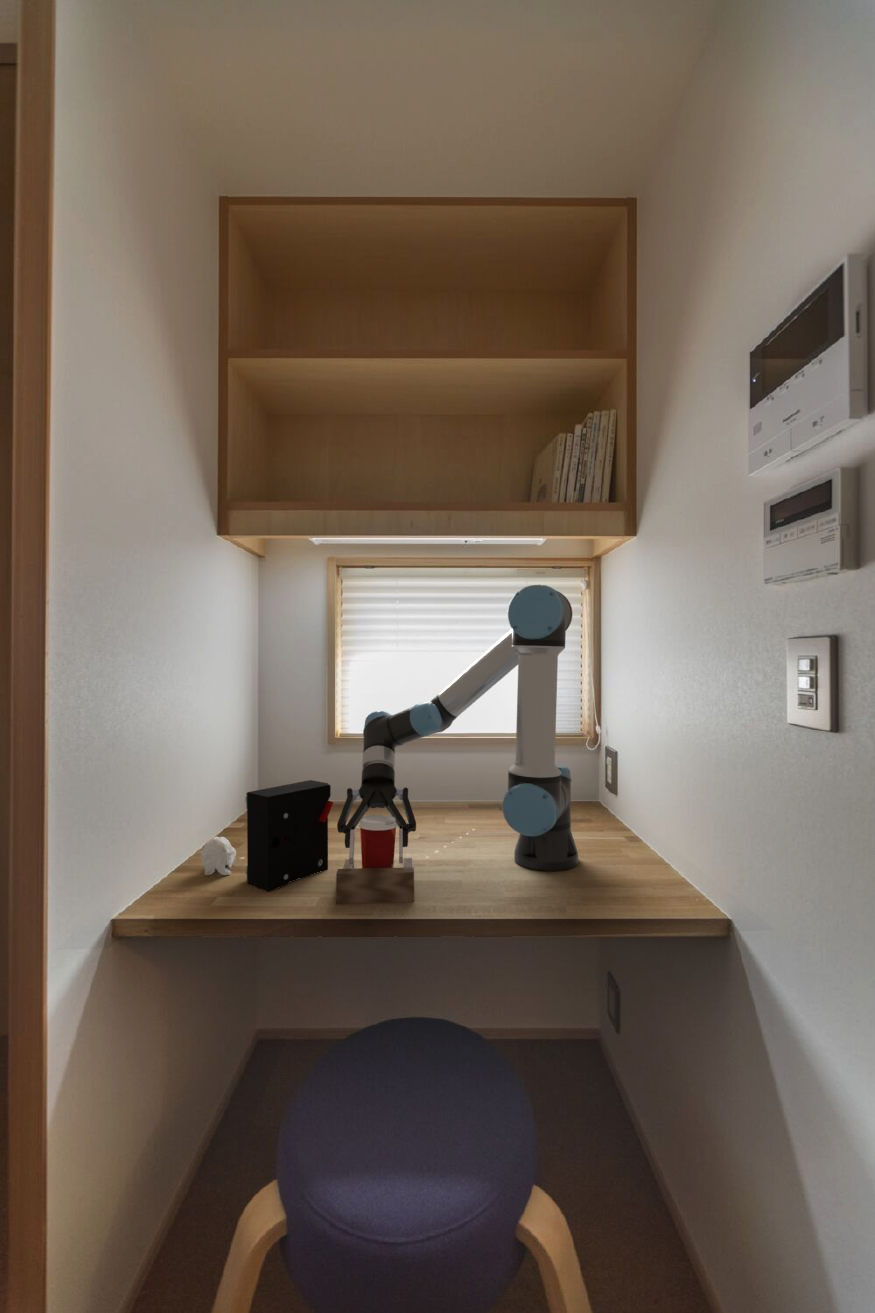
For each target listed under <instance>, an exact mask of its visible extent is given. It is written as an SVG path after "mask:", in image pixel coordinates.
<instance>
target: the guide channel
mask: <svg viewBox="0 0 875 1313" xmlns="http://www.w3.org/2000/svg"><path fill="white" fill-rule="evenodd" d="M402 864H403V867H393V868H362V867H361V868H360V867H359V868H355V861H354V862H353V864H350V862H349V858H347V859H345V860H344V863H343V868H337V871H336V874H335V876H336V877H335V878H336V879H335V880H336V884H335V885H336V889H335V890H336V893H335V894H336V899H335V900H336V902H335V903H336V904H339V905H340V904H341V905H342V904H344V905H345V904H349V905H350V904H351V905H352V904H380V903H381V904H385V903H387V904H388V903H390V904H391V903H393V904H394V903H414V902H415V869H414V867H413V857H403V863H402ZM336 904H335V905H336Z"/></svg>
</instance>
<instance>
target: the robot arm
mask: <svg viewBox="0 0 875 1313" xmlns="http://www.w3.org/2000/svg"><path fill="white" fill-rule="evenodd" d="M507 619H508V623H509V626H510V628H511V629H510V630H509V631H508V632H506V633H505V634H504V635H503V636H502V637H501V638H499V640H497V641H496V642H495V643H494V644H493V645H492V646H490V648H489V649H488V650H485V652H484V653H483V654H482V655H481V656H480V657H478V658H477V659H476V660H475V661H474V662H473V663H471V664H470V665H469V667H467V668H466V669H465V670H464V671H463V672H461V673H460V674H459V675H458V676H457V677H456V678H455V679H453V680H452V682H450V683H448V684H447V686H446V687H445V688H444V689H442V690H441V691H440V692H439V693H438V694H436V696H435V697H433V699H431V700H430V701H425V702H422V703H419V704H414V705H413V706H412V707H409V708H407V709H404V710H402V711H400V712H397V713H395V714H391V713H390V712H389V711H384V710H380V711H373V712H371V713H369V714H368V715H367V717H365V720H364V725H363V730H362V731H363V732H362V733H363V734H362V735H363V751H362V761H361V762H362V763H361V768H362V769H361V770H362V772H361V785H360V788H359V789H355V790H353V789H352V788H350V787H348V788H347V789H346V798H345V799H346V800H345V801H344V805H343V808H342V809H341V813H340V815H339V818H338V821H337V824H336V825H337V826H336V827H337V828H336V829H337V832H338V833H340V834H342V833H343V834H344V846H345V848H346V849H349V854H348V859H349V862H350V864H353V862H354V863H355V858H354V857H355V844H356V843H355V841H356V840H355V839H356V834H355V829H356V828H357V826H359V824H360V822H361V819H362V818H363V817H365V816H364V815H365V814H366V813H367V812H368V811H369V810H370V809H376V808H379V809H385V808H386V811H388V812H389V814H390V816H393V817H395V819H396V823H397V824H398V826H397V827H398V828H399V829H398V858H399V860H398V863H399V864H403V858H404V854H403V853H404V851H403V850H404V849H403V848H407V847H408V846H409V834H410V833H411V832H413V833H414V832H416V830H417V820H416V818H415V815H414V812H413V809H412V805H411V802H410V800H409V788H408V787H403V788H402V789H397V787H396V786H395V785H396V784H395V781H396V779H395V777H396V776H395V775H396V774H395V769H396V768H395V764H396V762H395V761H396V760H395V758H396V752H395V751H396V748H397V747H400V746H403V745H405V744H408V743H410V742H411V743H412V742H413V741H417V740H419V739H422V738H424V737H428V736H430V735H433V734H437V733H443V732H444V731H445V730H447V729H449V728H450V727H451V725H452V724H453V722H454V721H455V720H456V719H457V718H458V717H459V716H460V715H461V714H462V713H463V712H465V711H466V710H467V709H468V708H469V707H471V706H472V705H473V704H474V703H475V702H476V701H478V699H480V698H481V697H482V696H483V695H484V694H486V693H487V692H488V691H489V690H490V689H491V688H493V686H495V685H496V684H497V683H499V682H500V681H501V680H502V679H503V678H504V677H505V676H506V675H508V674H509V673H510V672H511V671H513V670H514V669H515V668H516V667H517V691H516V692H517V694H516V697H517V698H516V699H517V700H516V703H517V704H516V732H515V734H516V735H515V736H516V737H515V761H514V763H513V764H512V765H511V766H510V767H509V768H508V770H507V771H508V773H507V774H508V775H507V776H508V777H507V791H506V793H505V795H504V797H503V800H502V806H501V807H502V808H501V810H502V814H503V818H504V820H505V822H506V823H507V825H509V827H510V828H511V829H512V830H514V831H515V832H517V833H518V834H519V835H518V838H517V840H516V841H517V842H516V844H515V848H514V856H513V857H514V862H515V863H516V864H518V865H520V866H522V867H524V868H527V869H532V870H537V871H548V872H549V871H551V872H552V871H553V872H554V871H563V870H569V869H573V868H575V867H576V866H578V864H579V851H578V849H577V846H576V843H575V839H574V836H573V833H572V829H571V827H572V825H571V822H572V821H571V819H572V818H571V815H572V813H571V812H572V809H571V805H572V804H571V800H572V798H571V796H572V794H571V791H572V790H571V789H572V788H571V785H572V783H571V782H572V777H571V769H570V768H568V767H567V766H563V765H562V766H561V765H556V764H555V763H556V735H557V733H556V732H557V731H556V730H557V729H556V727H557V702H558V700H557V697H558V696H557V695H558V693H557V692H558V666H559V665H558V664H559V663H558V662H559V661H558V658H559V655H560V654H561V653H562V652H563V651H564V650H565V649H566V631H567V630H568V628H570V626H571V623H572V621H573V607H572V604H571V602H570V601H569V599H568V598H567V596H565V595H564V594H563V593H562V592H560V591H558V590H556V589H555V588H553V587H551V586H548V585H547V584H546V585H545V584H532V585H527V586H525V587H522V588H521V589H520V590H518V591H517V592H516V593H515V594H514V595H513V597H512V598H511V599H510V601H509V604H508V607H507ZM358 797H360V799H361V802H360V804H359V806H358V807H357V808H356V810H355V811H354V814H352V816H351V818H350V819H349V821H348V818H349V817H350V813H351V810H352V808H353V805H354V802H355V801H356V800H357V798H358ZM395 797H398V799H399V801H401V802H402V807H403V809H404V813H405V817H406V819H407V821H406V820H405V818H404V817H403V815H402V814H401V812H400V810H399V809H398V807H397V806H396V804H395V803H394V799H395Z"/></svg>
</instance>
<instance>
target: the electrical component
mask: <svg viewBox="0 0 875 1313" xmlns="http://www.w3.org/2000/svg"><path fill="white" fill-rule="evenodd" d="M331 788H332V787H331V784H329V783H328V782H324V781H317V780H314V779H312V780H311V779H309V780H303V781H299V782H293V783H289V784H283V785H278V786H272V787H266V788H262V789H256V790H251V791H247V792H246V795H245V802H246V811H247V816H246V819H247V822H246V823H247V824H246V826H247V827H246V829H247V832H246V833H247V834H246V835H247V836H246V839H247V840H246V841H247V842H246V843H247V845H246V848H247V852H246V854H247V856H246V858H247V859H246V860H247V863H246V864H247V866H246V869H245V875H246V883H247V885H248V886H251V885H252V886H251V887H253V886H255V887H254V888H256V887H257V888H256V889H259V890H261V889H262V891H264V890H265V892H267V893H269V891H270V892H272V891H275V890H277V889H276V888H278V887H280V888H282V887H281V886H283V887H285V886H284V885H286V886H287V885H289V883H291V882H290V881H292V882H294V881H293V880H295V881H297V880H296V879H298V878H301V879H303V878H307V877H309V875H310V876H312V875H311V874H313V875H315V874H314V873H316V874H318V873H317V872H319V873H321V872H320V871H322V872H325V871H327V870H329V814H330V812H331V809H332V807H333V804H334V802H333V801H331V800H330V797H331V795H332V794H331V793H332V792H331ZM306 876H307V877H306ZM298 880H299V879H298ZM274 889H275V890H274ZM278 889H279V888H278Z"/></svg>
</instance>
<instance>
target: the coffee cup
mask: <svg viewBox="0 0 875 1313" xmlns="http://www.w3.org/2000/svg"><path fill="white" fill-rule="evenodd" d="M397 827H399V826H398V824H397V823H396V819H395V817H393V816H392V815H389V814H370V815H365V816H363V817H362V819H361V820H360V822H359V823H358V828H360V829H359V830H360V831H359V832H360V849H361V851H360V852H361V853H360V854H361V868H394V863H395V848H396V835H397V832H396V831H397Z"/></svg>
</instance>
